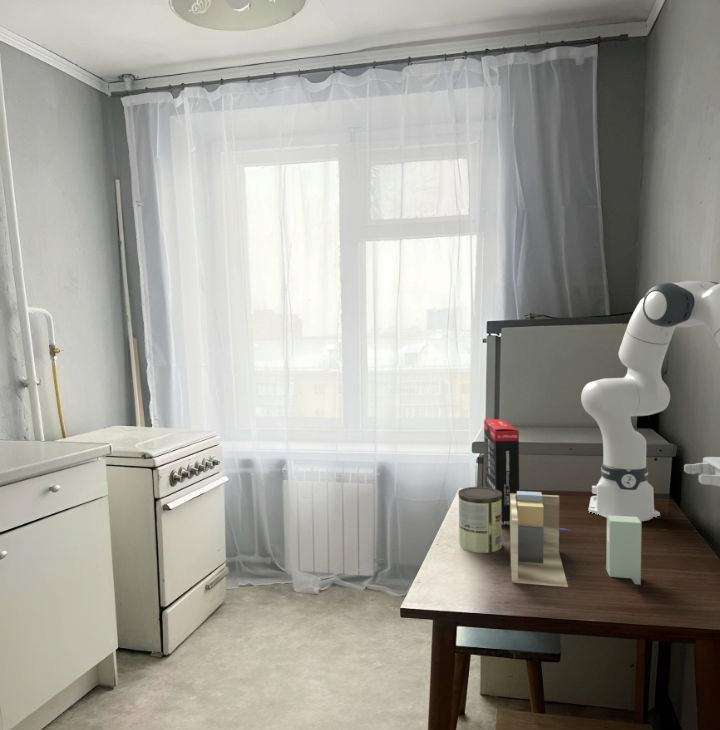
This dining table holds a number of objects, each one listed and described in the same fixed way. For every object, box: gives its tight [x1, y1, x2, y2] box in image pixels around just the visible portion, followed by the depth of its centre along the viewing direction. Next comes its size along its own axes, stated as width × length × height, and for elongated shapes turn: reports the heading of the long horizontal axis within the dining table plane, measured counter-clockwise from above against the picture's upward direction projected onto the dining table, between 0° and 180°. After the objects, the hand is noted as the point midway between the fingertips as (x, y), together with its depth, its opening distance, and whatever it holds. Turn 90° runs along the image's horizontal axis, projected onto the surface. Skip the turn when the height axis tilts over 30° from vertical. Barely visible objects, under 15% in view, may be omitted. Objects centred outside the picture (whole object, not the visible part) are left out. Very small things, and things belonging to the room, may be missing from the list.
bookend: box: [518, 526, 544, 563], centre depth 132 cm, size 4×6×8 cm
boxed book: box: [605, 515, 642, 585], centre depth 124 cm, size 4×6×13 cm, turn 77°
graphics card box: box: [483, 418, 520, 527], centre depth 162 cm, size 17×7×27 cm, turn 179°
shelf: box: [509, 493, 569, 588], centre depth 129 cm, size 20×11×14 cm, turn 167°
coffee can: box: [457, 486, 503, 554], centre depth 141 cm, size 10×10×14 cm
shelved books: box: [517, 490, 543, 527], centre depth 134 cm, size 7×6×14 cm
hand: (691, 473), depth 120 cm, fingers open, 8 cm apart
